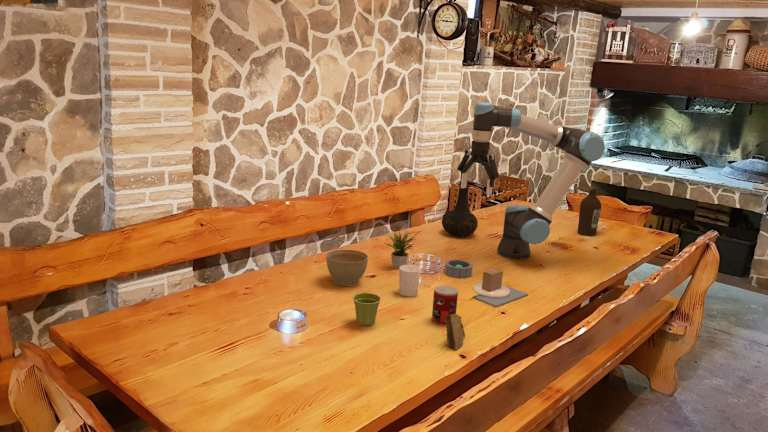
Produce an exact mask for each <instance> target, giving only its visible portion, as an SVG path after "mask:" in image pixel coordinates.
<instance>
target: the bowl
mask: <svg viewBox="0 0 768 432" xmlns="http://www.w3.org/2000/svg"><path fill="white" fill-rule="evenodd" d="M456 265H461V266H462V267H461V268H460V267H455V266H456ZM473 267H474V264H473V263H472V262H470V261H468V260H465V259H464V260H463V259H449V260H446V261H445V263H444V274H445V275H446V276H449V277H451V278H454V279H455V278H456V279H467V278H470V277H472V276H473V270H474V268H473Z"/></svg>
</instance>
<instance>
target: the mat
mask: <svg viewBox="0 0 768 432" xmlns="http://www.w3.org/2000/svg"><path fill="white" fill-rule="evenodd" d="M505 286H506V287H508V288H509V289H510V294H509V296H507V297H505V298H487V297H483V296H480V294H477V295H474V296H472V297H471V298H472V299H474V300H477V301H480V302H482V303H484V304H486V305H490V306H492V307H494V308H499V307H500V306H503V305H506V304H509V303H511V302H514V301H517V300H519V299H522V298H525V297H527V296H529V293H527V292H525V291H521V290H518V289H516V288H513V287H510V286H509V285H505Z"/></svg>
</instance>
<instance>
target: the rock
mask: <svg viewBox="0 0 768 432" xmlns="http://www.w3.org/2000/svg"><path fill="white" fill-rule="evenodd" d="M445 328H446V346H448V347H449V348H450V349H452V350H454V351H456V352H457V351H458V350H460V348H461V347H463V345H464V338H465V337H466V333H465V329H464V325H463V323H462V316H460V315H458V314H457V313H456V314H450V315H446V324H445Z"/></svg>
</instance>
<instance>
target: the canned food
mask: <svg viewBox="0 0 768 432" xmlns="http://www.w3.org/2000/svg"><path fill="white" fill-rule="evenodd" d="M458 294H459V291H458V289H457V288H455V287H454V286H449V285H438V286H436V287H434V289H433V298H432V299H433V300H432V310H431V311H432V312H431V318H432V321H433V322H435V323H436V324H440V325H446V315H450V314H457V306H458V297H459V295H458Z"/></svg>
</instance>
